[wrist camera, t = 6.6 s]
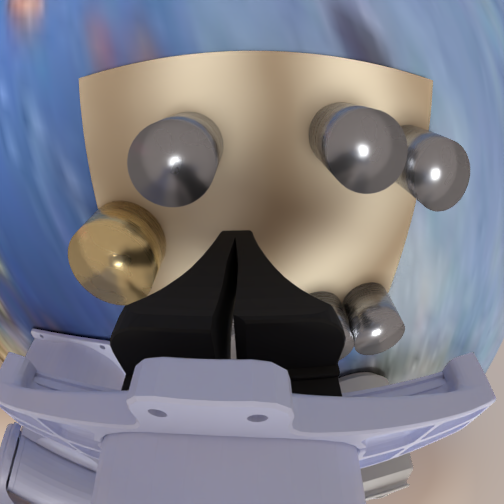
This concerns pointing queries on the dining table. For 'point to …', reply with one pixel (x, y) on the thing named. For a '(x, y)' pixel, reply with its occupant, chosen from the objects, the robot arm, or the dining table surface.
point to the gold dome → (118, 252)
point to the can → (388, 472)
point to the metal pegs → (342, 168)
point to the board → (260, 159)
